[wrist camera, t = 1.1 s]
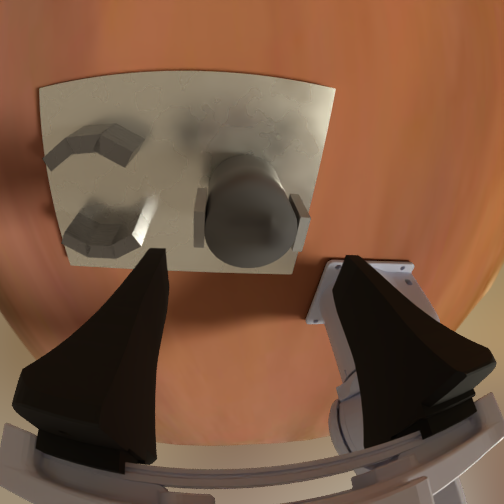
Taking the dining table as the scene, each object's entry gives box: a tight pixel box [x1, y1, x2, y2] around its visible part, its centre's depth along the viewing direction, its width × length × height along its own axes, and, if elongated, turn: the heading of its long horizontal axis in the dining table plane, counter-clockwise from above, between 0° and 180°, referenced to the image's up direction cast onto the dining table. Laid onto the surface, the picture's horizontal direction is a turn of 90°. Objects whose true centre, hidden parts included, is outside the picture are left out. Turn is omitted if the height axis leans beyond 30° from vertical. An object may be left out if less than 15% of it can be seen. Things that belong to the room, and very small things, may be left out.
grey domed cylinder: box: [194, 154, 311, 268], centre depth 15 cm, size 5×4×5 cm
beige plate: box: [39, 71, 336, 274], centre depth 16 cm, size 18×14×4 cm
